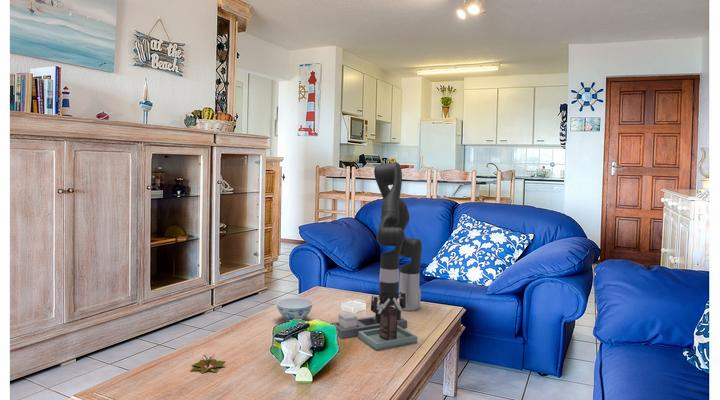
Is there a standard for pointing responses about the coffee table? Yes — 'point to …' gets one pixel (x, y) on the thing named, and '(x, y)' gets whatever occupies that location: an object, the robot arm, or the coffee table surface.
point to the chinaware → (294, 308)
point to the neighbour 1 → (347, 320)
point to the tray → (379, 343)
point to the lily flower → (208, 362)
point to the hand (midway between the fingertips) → (388, 321)
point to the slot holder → (363, 326)
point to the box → (388, 323)
